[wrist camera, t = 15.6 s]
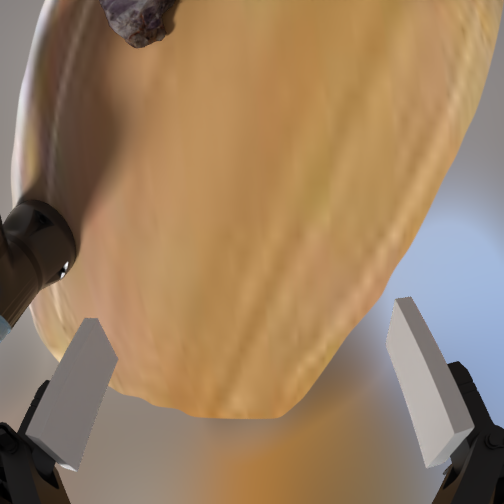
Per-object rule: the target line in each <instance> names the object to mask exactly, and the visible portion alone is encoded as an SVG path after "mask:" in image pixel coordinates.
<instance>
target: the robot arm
mask: <svg viewBox="0 0 504 504" xmlns="http://www.w3.org/2000/svg"><path fill="white" fill-rule="evenodd" d="M75 254H76V249H75V242H74V238H73V235H72V233H71V230H70V228H69V226H68V225H67V223H66V221H65V220H64V219H63V217H62V216H61V215H60V214H59V213H58V212H57V211H56V210H55V209H54V208H52V207H51V206H49V205H48V204H46V203H44V202H41V201H37V200H29V201H25V202H23V203H21V204H20V205H18V206H17V207H16V208H14V209H13V210H12V211H11V212H10V214H9V215H8V217H7V219H6V220H5V222H4V224H2V220H1V216H0V342H1V341H2V340H3V339H4V338H5V336H6V335H7V334H9V333H10V332H11V329H12V328H13V327H14V325H15V324H16V322H17V321H18V319H19V318H20V317H21V315H22V314H23V312H24V311H25V310H26V308H27V307H28V306H29V304H30V303H31V302H32V300H33V299H34V298H35V296H36V295H37V294H38V292H39V291H40V290H42V289H44V288H46V287H48V286H49V285H51V284H53V283H55V282H57V281H59V280H61V279H62V278H63V277H64V276H65V275H66V274H67V273H68V271H69V270H70V269H71V268H72V266H73V264H74V261H75ZM386 347H387V350H388V352H389V355H390V358H391V360H392V363H393V366H394V369H395V371H396V374H397V377H398V380H399V383H400V386H401V389H402V391H403V394H404V397H405V400H406V403H407V406H408V409H409V412H410V416H411V419H412V422H413V425H414V428H415V432H416V435H417V438H418V442H419V445H420V448H421V452H422V455H423V459H424V462H425V466H426V468H429V467H433V466H436V465H439V464H442V463H444V462H445V461H446V460H447V459H448V458H449V457H451V461H452V464H451V465H450V466H449V467H448V468H447V469H446V470H445V472H444V473H443V475H445V474H446V473H447V474H446V476H445V478H444V481H443V483H442V485H441V487H440V489H439V491H438V493H437V495H436V497H435V499H434V500H433V502H432V504H504V429H503V428H501V427H500V426H497V425H495V424H494V423H493V422H492V420H491V418H490V416H489V413H488V411H487V409H486V407H485V405H484V402H483V400H482V398H481V396H480V394H479V392H478V391H477V388H476V386H475V384H474V383H473V379H472V377H471V376H470V374H469V372H468V370H467V369H466V368H465V367H464V366H463V365H462V364H461V363H460V362H459V361H457V362H453V363H449V364H447V363H446V361H445V359H444V357H443V355H442V353H441V351H440V350H439V347H438V346H437V344H436V342H435V340H434V338H433V336H432V334H431V332H430V330H429V328H428V326H427V325H426V323H425V321H424V319H423V317H422V315H421V313H420V312H419V310H418V308H417V306H416V304H415V303H414V301H413V299H412V297H405V298H398V299H395V303H394V307H393V312H392V317H391V322H390V327H389V332H388V336H387V340H386ZM117 361H118V357H117V356H116V354H115V352H114V350H113V348H112V346H111V344H110V342H109V340H108V338H107V336H106V334H105V332H104V330H103V328H102V326H101V324H100V322H99V320H98V318H85V319H84V320H83V322H82V324H81V325H80V327H79V329H78V331H77V332H76V334H75V336H74V338H73V339H72V341H71V343H70V345H69V347H68V348H67V350H66V352H65V354H64V356H63V358H62V359H61V361H60V363H59V365H58V367H57V369H56V371H55V373H54V375H53V377H52V379H51V380H50V381H49V380H46V381H45V382H44V383H43V384H42V385H41V386H40V387H39V388H38V390H37V392H36V395H35V397H34V399H33V401H32V403H31V404H30V405H31V406H30V407H29V409H28V411H27V413H26V415H25V417H24V419H23V421H22V423H21V426H20V428H19V430H18V432H17V433H16V432H15V431H14V430H13V429H12V428H11V427H10V426H9V425H8V424H7V423H3V422H1V423H0V504H71V503H70V501H69V499H68V496H67V494H66V491H65V489H64V486H63V484H62V481H61V478H60V476H59V473H58V471H57V469H56V468H55V466H54V465H55V462H57V463H58V464H60V465H61V466H62V467H63V468H66V469H69V470H73V471H76V472H77V471H78V469H79V465H80V462H81V459H82V456H83V453H84V450H85V447H86V444H87V441H88V438H89V435H90V432H91V429H92V426H93V424H94V421H95V418H96V415H97V412H98V410H99V407H100V404H101V402H102V399H103V396H104V394H105V391H106V389H107V386H108V383H109V381H110V378H111V376H112V373H113V371H114V368H115V366H116V363H117Z"/></svg>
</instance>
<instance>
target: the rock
mask: <svg viewBox="0 0 504 504" xmlns="http://www.w3.org/2000/svg"><path fill="white" fill-rule="evenodd" d="M99 1H100V4H101V7H102V8H103V9H104V11H105V14H106V17H107V19H108V23H109V26H110V27H111V28H112V29H113V30H114V31H115V32H116V33H117V34H119V35H120V36H121V37H123V38H124V39H125V41H126V42H127V43H128V44H129V45H131V46H132V47H134V48H142V47H145V46H147V45H149V44H152V43H153V42H155V41H162V39H163V38H164V37H165V35H166V31H165V28H164V25H163V20H162V18H161V16H162V14H163V13H164V12H166V11H167V10H168V9H169V8H170V7H172V5H173V4H174V1H175V0H99Z"/></svg>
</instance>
